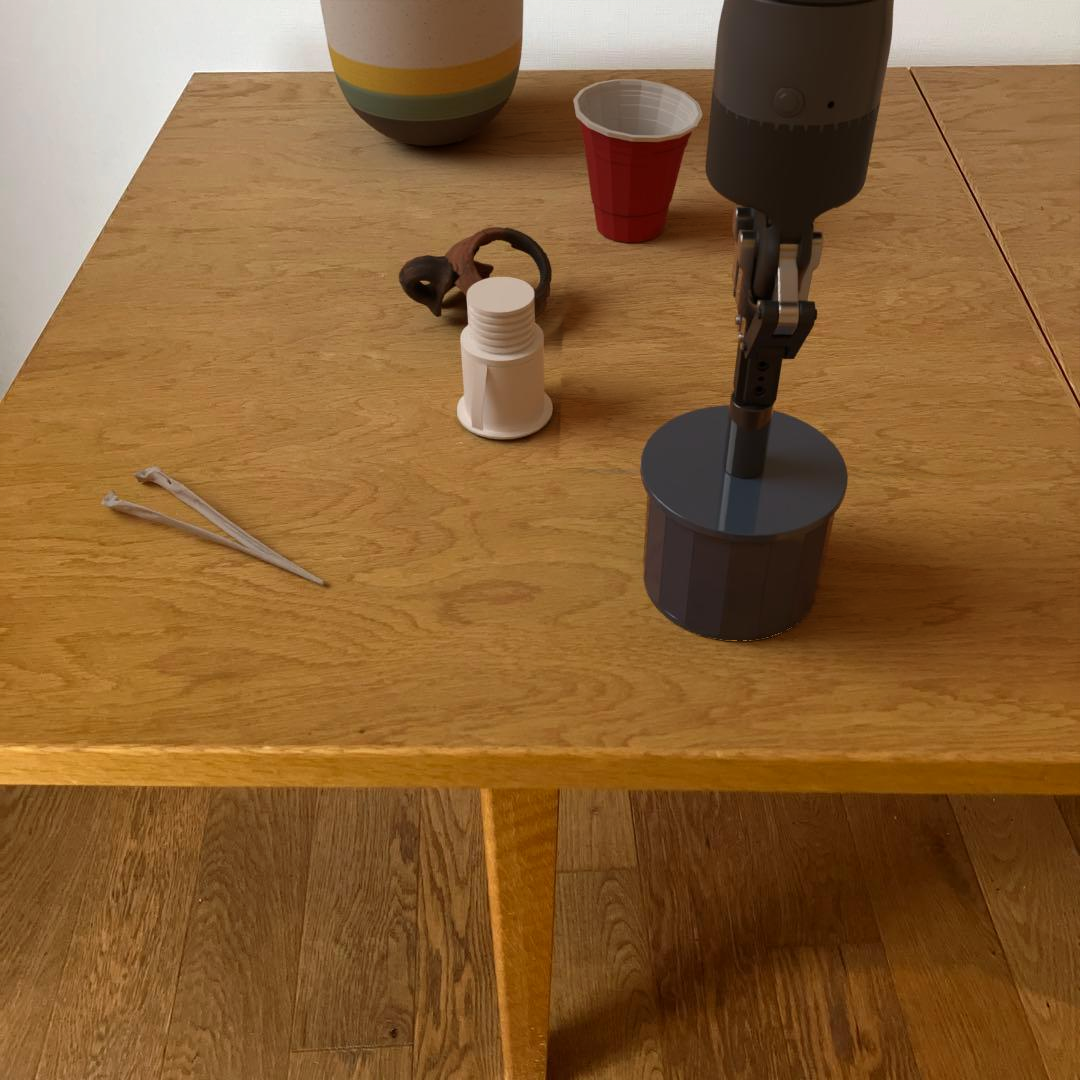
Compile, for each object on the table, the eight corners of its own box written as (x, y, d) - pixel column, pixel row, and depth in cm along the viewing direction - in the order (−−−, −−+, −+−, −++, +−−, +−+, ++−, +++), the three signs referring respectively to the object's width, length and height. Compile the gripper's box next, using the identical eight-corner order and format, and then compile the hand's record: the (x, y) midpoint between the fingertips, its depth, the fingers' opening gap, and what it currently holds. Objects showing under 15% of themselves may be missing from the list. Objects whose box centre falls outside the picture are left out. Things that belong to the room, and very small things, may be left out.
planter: (493, 185, 114) (483, -54, 100) (306, 162, 119) (271, -71, 104) (549, 104, 128) (547, -116, 114) (379, 86, 132) (357, -129, 118)
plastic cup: (660, 275, 102) (669, 140, 94) (549, 245, 106) (549, 113, 98) (711, 221, 109) (724, 91, 101) (606, 195, 113) (610, 67, 105)
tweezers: (98, 512, 80) (92, 490, 79) (150, 474, 83) (145, 452, 82) (301, 622, 74) (298, 600, 73) (349, 577, 77) (347, 555, 76)
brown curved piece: (514, 276, 103) (549, 216, 96) (535, 371, 100) (573, 317, 93) (379, 269, 98) (405, 205, 91) (397, 369, 95) (426, 311, 88)
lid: (828, 421, 74) (844, 338, 70) (860, 552, 65) (880, 467, 61) (636, 419, 74) (641, 337, 70) (643, 550, 65) (648, 464, 61)
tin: (805, 521, 79) (824, 418, 73) (828, 643, 71) (852, 537, 65) (640, 519, 79) (646, 416, 73) (646, 640, 71) (653, 535, 65)
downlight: (490, 372, 92) (484, 255, 85) (572, 397, 89) (573, 278, 83) (435, 429, 87) (425, 309, 80) (521, 457, 84) (517, 336, 77)
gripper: (910, 148, 49) (841, 475, 61) (857, 30, 59) (806, 332, 70) (725, 147, 49) (692, 473, 61) (703, 29, 59) (678, 330, 71)
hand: (753, 397), depth 66 cm, fingers closed
